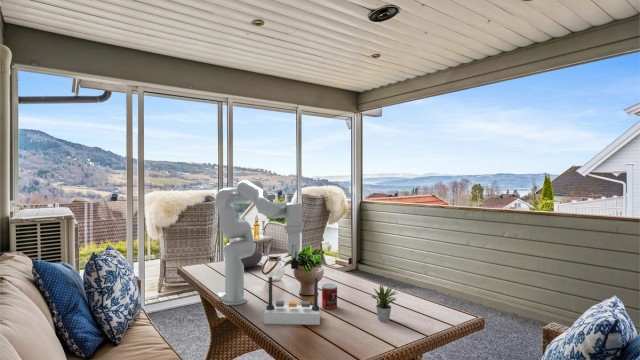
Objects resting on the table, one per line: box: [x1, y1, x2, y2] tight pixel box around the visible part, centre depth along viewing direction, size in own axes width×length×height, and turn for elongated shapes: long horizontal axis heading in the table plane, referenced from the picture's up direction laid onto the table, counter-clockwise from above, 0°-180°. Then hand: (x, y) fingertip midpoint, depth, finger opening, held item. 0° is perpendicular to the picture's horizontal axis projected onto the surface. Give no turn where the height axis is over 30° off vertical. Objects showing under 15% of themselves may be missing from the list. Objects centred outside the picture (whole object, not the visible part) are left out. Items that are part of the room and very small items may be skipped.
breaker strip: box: [263, 304, 321, 326], centre depth 169 cm, size 25×10×5 cm, turn 89°
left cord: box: [265, 276, 275, 310], centre depth 169 cm, size 4×4×15 cm
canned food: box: [321, 283, 338, 311], centre depth 186 cm, size 8×8×11 cm
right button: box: [301, 300, 311, 307], centre depth 169 cm, size 4×4×2 cm
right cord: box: [311, 277, 321, 311], centre depth 169 cm, size 4×4×15 cm
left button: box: [275, 300, 285, 307], centre depth 169 cm, size 4×4×2 cm
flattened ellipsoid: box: [241, 247, 263, 269], centre depth 265 cm, size 25×25×15 cm
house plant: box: [370, 284, 398, 323], centre depth 169 cm, size 14×14×16 cm
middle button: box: [288, 300, 298, 307], centre depth 169 cm, size 4×4×2 cm
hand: (294, 268), depth 170 cm, fingers closed
